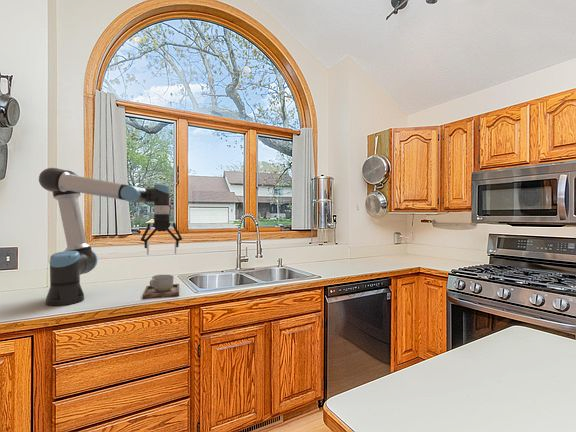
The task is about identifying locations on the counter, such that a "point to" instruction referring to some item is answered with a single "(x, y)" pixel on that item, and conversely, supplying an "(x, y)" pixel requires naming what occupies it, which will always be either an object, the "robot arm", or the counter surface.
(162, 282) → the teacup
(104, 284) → the counter surface
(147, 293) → the brown wooden tray
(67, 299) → the robot arm
